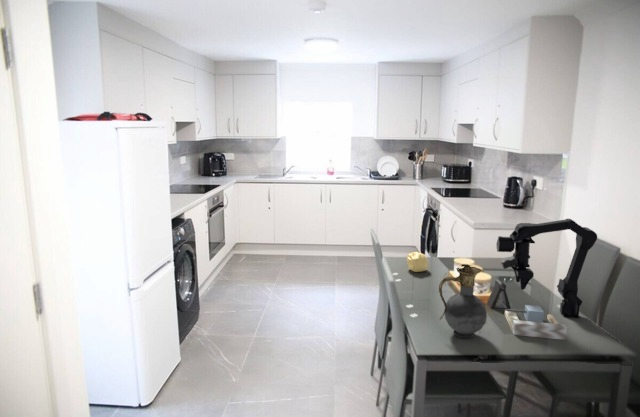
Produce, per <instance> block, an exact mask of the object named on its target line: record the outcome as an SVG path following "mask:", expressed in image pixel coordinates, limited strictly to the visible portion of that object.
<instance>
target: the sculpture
mask: <svg viewBox="0 0 640 417" xmlns="http://www.w3.org/2000/svg"><path fill="white" fill-rule="evenodd" d="M428 259H429V258H428V257H427V256H426V255H425V253H421V252H418V251H415V252H410V253H408V254H407V255H406V264H407V268H408V269H409V270H410V271H411V272H414V273H421V272H425V271H426V270H427V269H428V266H429V260H428Z"/></svg>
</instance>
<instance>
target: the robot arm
mask: <svg viewBox="0 0 640 417" xmlns="http://www.w3.org/2000/svg"><path fill="white" fill-rule="evenodd" d="M566 230H570V231H572V232H573V233H575V235H576V236H575V250H574V252H573V255H572V257H571V258H572V259H571V261H570V264H569V266H568V267H569V268H568V270H567V273H566V275H565V277H564V278H559V280H558V284H557V285H556V288H557V292H558V293H559V294H560V296H561V298H562V300H561V302H560V305H559V313H561V315H562V317H564V318H573V319H574V318H575V319H581V316H580V307H581V305H582V304H583V300H582V299H581V298H579V296H578V290H579V286H578V285H579V284H578V283H579V282H578V281H579V278H580V274H581V272H582V269H583V267H584V264H585V261H586V258H587V256H588V253H589V251H590V249H592V248H593V247H594V245H595V243H596V242H597V240H598V234H597V233H596V232H595V231H594V230H593V229H590V228H589V227H586V226H584V227H583V226H582V225H580V224H579V223H577V222H576V221H574V220H573V219H571V218H565V219H561V220H553V221H547V222H539V223H533V222H532V223H531V222H519V223H518V224H516V226H515V228H514V230H513V231H512V232H511V233H510V235H509V236H501V235H500V236H497V241H496V251H497V253H498V252H499V253H500V252H501V253H512V252H513V251H514V252H513V253H512V255H511V256H508V257H504V258H501V259H500V264H501V267H502V268H503V269H504V270H506V269H508V268H511V269H512V270H513V272H514V276H515V282H516V283H520V290H525V289H526V287H527V285H528V284H529V282H530V281H531V280H532V279H533V278H534V274H535V273H534V271H533V270H532V269H531V268H530V264H529V262H530V261H529V260H530V259H531V256H530V244H536V241H535V240H533V239H532V238H533V237H535V236H537V235H540V234H546V233H552V232H560V231H561V232H562V231H566Z"/></svg>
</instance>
